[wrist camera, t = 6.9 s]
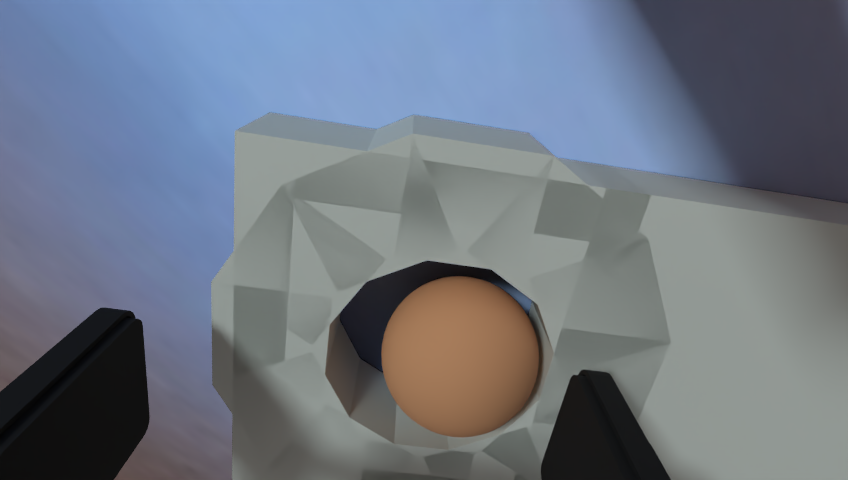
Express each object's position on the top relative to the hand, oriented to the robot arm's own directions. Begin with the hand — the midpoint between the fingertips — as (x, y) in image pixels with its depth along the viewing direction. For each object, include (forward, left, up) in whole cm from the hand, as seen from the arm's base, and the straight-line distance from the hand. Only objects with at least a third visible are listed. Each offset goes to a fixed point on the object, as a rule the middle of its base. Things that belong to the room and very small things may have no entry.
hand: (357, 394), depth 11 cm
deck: (-6, +3, -4) cm, 8 cm away
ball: (-2, 0, -2) cm, 3 cm away
